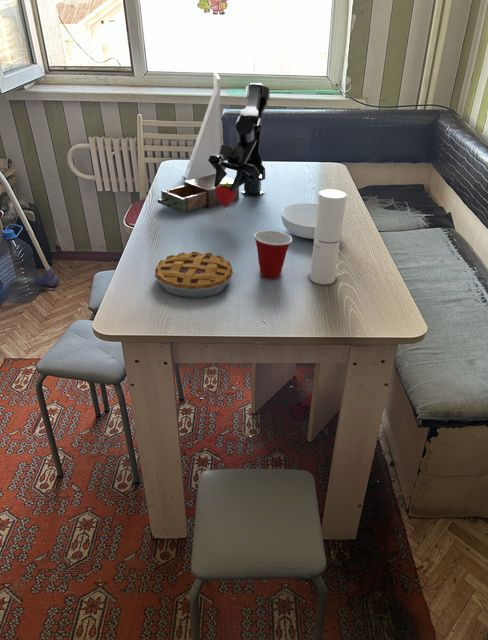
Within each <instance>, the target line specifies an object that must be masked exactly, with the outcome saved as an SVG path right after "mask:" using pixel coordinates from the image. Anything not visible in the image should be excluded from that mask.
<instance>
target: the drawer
mask: <svg viewBox="0 0 488 640" xmlns="http://www.w3.org/2000/svg"><path fill="white" fill-rule="evenodd" d="M160 193H161V199H160V198H159V199H157V204H159V205H162V206H164V207H167V208H169V209H172V210H174V211H177V212H180V213H182V214H185V213H187V212H189V211H192V210H194V209H198V208H201V207H204V206H205V205H208V200H207V191H204V190H201V189H199V188H196V187H193V186H191V185H185V184H184V185H180V186H177V187H173V188H169V189H166V190H161V191H160Z"/></svg>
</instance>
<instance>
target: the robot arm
mask: <svg viewBox="0 0 488 640" xmlns="http://www.w3.org/2000/svg"><path fill="white" fill-rule="evenodd" d="M270 91H271V90H270V88H269V87H268V86H265V85H264V84H262V83H259V82H258V83H255V82H251V83H248V85H247V86H246V88H245V98H246V105H245V108H243V109H242V110H240V114H239V116H238V117H237V118H236V119H237V120H236V123H235V131H236V136H237V141H236V144H234V145H231V146H230V145H226V144H221V145H220V153H219V154H220V156H218V155H214V154H213V155H211V156H210V157H209V159H208V161H209V162H210V163H211V165H212V166H213V167H214V168H215V169H216V177H215V185H214V186H215V187H217V186H219V185H218V184H219V183H221V182H222V180H223V179H224V177H226V176H227V175H228V173H227V172H226V169H229V170H233V171H236V175H235V177H234V179H233V180H234V181H233V183H232V185H231V187H230V190H229V191H230V192H232V191H234V190H235V189H237V188H238V187H239V188H240V187H241V186H242V185H243V190H242V191H241V194H243V195H246V196H248V197H252V198H254V197H257V196H261V195H263V194H264V192H263V191H261V190H262V181H265V180H266V167H265V164H264V161H263V158H262V156H261V154H260V150H261V135H262V126H263V113H264V111H265V110H266V108H267V106H268V101H270V97H271V96H270V94H271V92H270ZM221 155H222V156H223V157H224V158H223V157H222V156H221Z"/></svg>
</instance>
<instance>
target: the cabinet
mask: <svg viewBox="0 0 488 640" xmlns="http://www.w3.org/2000/svg"><path fill="white" fill-rule="evenodd" d="M215 177H216V174H212V175H208V176H204V177H201V178H197V179H193V180H189V181H186V182H185V181H184V185H191V186H193V187H196V188H199V189H201V190H204V191H207V200H208V205H205V206H203V207H204V208H206V209H212V208H214V207H217V206H221V205H222V204H221V203H220V202H219V200H218V199H217V197H216V195H215V188H216V187H215V186H214V185H215ZM226 178H227V179H226ZM227 181H228V183H231V184H232V183H233V181H234V179H232V178H229V177H228V176H227V177H226V176H225V177H224V179H223V180H222V182H221V183H225V182H227ZM236 192H237V193H236V196H235V198H234V200H233V201H236V200H239V199H240V186H239V187H238V188H237V189H236Z"/></svg>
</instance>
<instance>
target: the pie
mask: <svg viewBox="0 0 488 640" xmlns="http://www.w3.org/2000/svg"><path fill="white" fill-rule="evenodd" d="M233 269H234V268H233V266H232V265H231V262H230V261H229V260H226V259H225V258H224V257H223V256H222V255H220V254H218V255H214V254H213V252H206V253H201V252H198V251H192V252H190V253H186V252H184V251H183V252H180V253H178V254H177V255H173V254H171V255H167V257H166V259H162V260H160V261H159V262H158V265H156V267H155V270H154V278H155V279H156V280H157V281H158V282H159V284H160V285H161V286H162V288H163V289H164V291H166V292H167V293H169V294H173V295H174V296H181V297H188V298H202V297H203V298H204V297H209V296H213V295H217V294H219V293H220V292H221V291H223V290H224V289H225V287H226V286H227V284H228V283H229V282H230V281H231V279H232V277H233V275H234V274H235V273H234V270H233Z"/></svg>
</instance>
